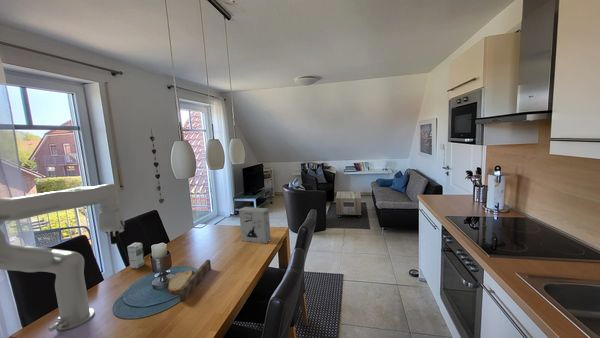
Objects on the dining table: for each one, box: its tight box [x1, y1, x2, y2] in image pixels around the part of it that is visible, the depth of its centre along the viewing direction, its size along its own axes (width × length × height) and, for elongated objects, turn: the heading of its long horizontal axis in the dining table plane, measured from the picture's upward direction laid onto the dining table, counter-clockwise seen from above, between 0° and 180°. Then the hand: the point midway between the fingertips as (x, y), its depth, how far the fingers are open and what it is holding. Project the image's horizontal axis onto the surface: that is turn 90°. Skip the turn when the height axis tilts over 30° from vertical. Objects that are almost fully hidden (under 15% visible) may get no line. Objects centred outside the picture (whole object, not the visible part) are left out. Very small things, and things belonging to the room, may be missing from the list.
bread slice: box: [167, 269, 195, 296], centre depth 136 cm, size 18×18×4 cm
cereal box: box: [238, 206, 271, 244], centre depth 188 cm, size 22×8×25 cm, turn 67°
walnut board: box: [178, 259, 212, 302], centre depth 134 cm, size 30×2×6 cm, turn 176°
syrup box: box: [126, 242, 146, 269], centre depth 158 cm, size 6×6×14 cm
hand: (115, 243), depth 127 cm, fingers closed
